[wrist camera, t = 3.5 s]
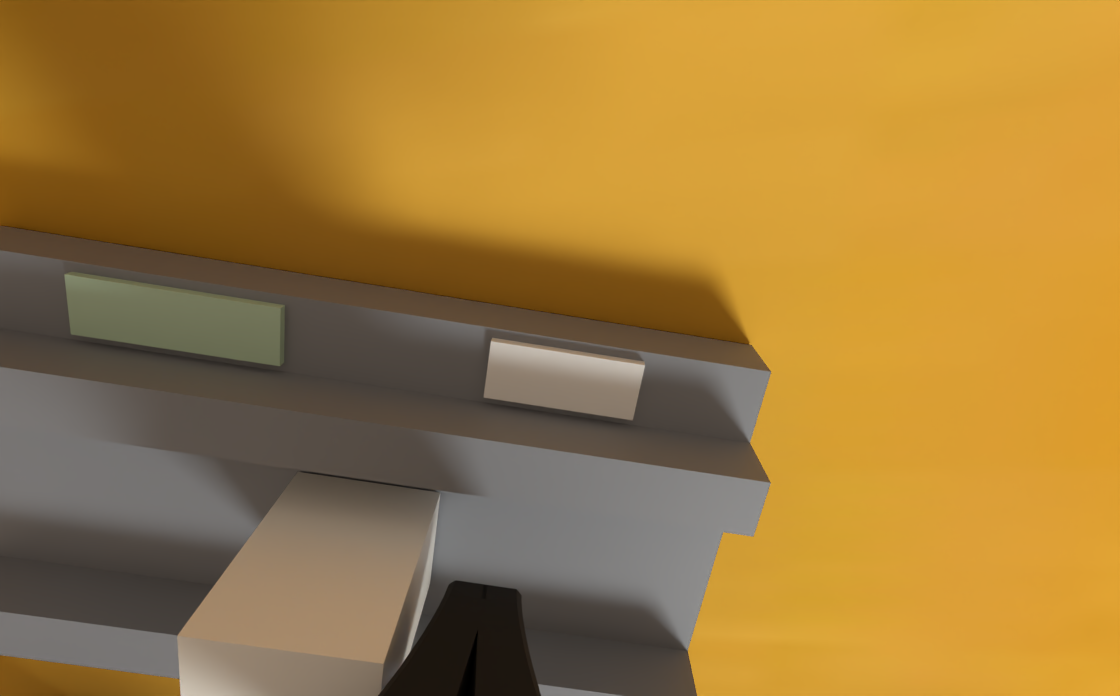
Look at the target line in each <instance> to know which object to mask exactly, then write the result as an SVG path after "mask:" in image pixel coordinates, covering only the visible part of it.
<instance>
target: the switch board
mask: <svg viewBox="0 0 1120 696" xmlns="http://www.w3.org/2000/svg"><path fill="white" fill-rule="evenodd" d="M770 374H771V371H770V370H769V368H768V367H767V366H766V364H765V363H764V362H763V360H762V359H761V357H760V356H759V355H758V353H757V352H756V351H755V349H754V348H753V347H752V345H747V344H741V343H735V342H728V341H722V340H716V339H710V338H703V337H697V336H691V335H685V334H678V333H672V332H666V331H659V330H653V329H647V328H641V327H634V326H628V325H622V324H615V323H609V322H603V321H597V320H590V319H584V318H578V317H571V316H565V315H559V314H553V313H546V312H540V311H534V310H528V309H521V308H515V307H509V306H502V305H496V304H490V303H484V302H477V301H471V300H465V299H458V298H452V297H446V296H440V295H433V294H427V293H421V292H415V291H408V290H402V289H396V288H389V287H383V286H377V285H371V284H364V283H358V282H352V281H345V280H339V279H333V278H327V277H320V276H314V275H308V274H301V273H295V272H289V271H283V270H276V269H270V268H264V267H258V266H251V265H245V264H239V263H232V262H226V261H220V260H214V259H207V258H201V257H195V256H188V255H182V254H176V253H170V252H163V251H157V250H151V249H145V248H138V247H132V246H126V245H119V244H113V243H107V242H101V241H94V240H88V239H82V238H75V237H69V236H63V235H57V234H50V233H44V232H38V231H32V230H25V229H19V228H13V227H6V226H0V655H4V656H11V657H19V658H26V659H34V660H41V661H49V662H57V663H64V664H72V665H79V666H87V667H94V668H102V669H109V670H117V671H125V672H132V673H140V674H147V675H155V676H162V677H170V678H177V679H180V676H179V659H178V642H177V635H178V634H179V633H180V631H181V630H182V629H183V627H184V626H185V625H186V623H187V622H188V620H189V619H190V618H191V616H192V615H193V614H194V612H195V611H196V610H197V608H198V607H199V606H200V604H201V603H202V601H203V600H204V599H205V597H206V596H207V595H208V593H209V592H210V591H211V589H212V588H213V586H214V585H215V584H216V582H217V581H218V580H219V578H220V577H221V576H222V574H223V573H224V572H225V570H226V569H227V567H228V566H229V565H230V563H231V562H232V561H233V559H234V558H235V557H236V555H237V554H238V553H239V551H240V550H241V548H242V547H243V546H244V544H245V543H246V542H247V540H248V539H249V538H250V536H251V535H252V533H253V532H254V531H255V529H256V528H257V527H258V525H259V524H260V523H261V521H262V520H263V519H264V517H265V516H266V514H267V513H268V512H269V510H270V509H271V508H272V506H273V505H274V504H275V502H276V501H277V499H278V498H279V497H280V495H281V494H282V493H283V491H284V490H285V489H286V487H287V486H288V485H289V483H290V482H291V480H292V479H293V478H294V476H295V475H296V474H297V472H303V473H310V474H317V475H323V476H330V477H337V478H344V479H351V480H357V481H364V482H371V483H378V484H385V485H392V486H398V487H405V488H412V489H419V490H426V491H433V492H439V493H440V501H439V509H438V518H437V527H436V536H435V545H434V553H433V562H432V571H431V580H430V585H429V589H428V592H427V596H426V599H425V602H424V606H423V609H422V613H421V616H420V620H419V623H418V626H417V630H416V633H415V637H414V640H413V644H412V647H411V650H412V649H413V647H414V646H415V644H416V643H417V641H418V640H419V638H420V637H421V635H422V634H423V632H424V631H425V629H426V627H427V626H428V624H429V622H430V621H431V619H432V617H433V616H434V614H435V612H436V610H437V608H438V607H439V605H440V603H441V601H442V599H443V597H444V595H445V592H446V590H447V587H448V585H449V584H450V583H452V582H453V581H455V580H457V581H464V582H471V583H478V584H485V585H492V586H499V587H506V588H513V589H517V590H518V591H519V593H520V594H521V595H522V599H521V600H522V614H523V621H524V627H525V633H526V638H527V643H528V648H529V652H530V657H531V661H532V665H533V668H534V672H535V676H536V679H537V683H538V686H539V690H540V694H541V696H697V694H696V689H695V684H694V679H693V675H692V670H691V665H690V661H689V656H688V647H689V644H690V641H691V637H692V634H693V631H694V627H695V624H696V621H697V617H698V614H699V611H700V607H701V604H702V600H703V597H704V594H705V590H706V587H707V584H708V580H709V577H710V574H711V570H712V567H713V564H714V560H715V557H716V554H717V550H718V547H719V544H720V540H721V537H722V534H723V532H726V533H733V534H740V535H747V536H754V533H755V530H756V527H757V524H758V521H759V517H760V514H761V511H762V508H763V505H764V502H765V499H766V496H767V493H768V489H769V486H770V481H769V479H768V477H767V475H766V473H765V471H764V469H763V467H762V465H761V463H760V461H759V460H758V458H757V456H756V454H755V452H754V450H753V448H752V446H751V444H750V440H751V437H752V434H753V430H754V427H755V424H756V420H757V417H758V414H759V410H760V407H761V404H762V400H763V397H764V394H765V390H766V387H767V384H768V380H769V377H770ZM411 650H410V652H411Z"/></svg>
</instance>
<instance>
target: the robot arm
mask: <svg viewBox="0 0 1120 696" xmlns="http://www.w3.org/2000/svg"><path fill="white" fill-rule="evenodd" d="M521 599H522V595H521V594H520V593H519V591H518V590H517V589H513V588H506V587H499V586H492V585H485V584H478V583H471V582H464V581H457V580H455V581H453V582H452V583H450V584H449V585H448V587H447V590H446V592H445V595H444V597H443V599H442V601H441V603H440V605H439V607H438V608H437V610H436V612H435V614H434V616H433V617H432V619H431V621H430V622H429V624H428V626H427V627H426V629H425V631H424V632H423V634H422V635H421V637H420V638H419V640H418V641H417V643H416V644H415V646H414V647H413V649H412V650H411V652H410V653H409V655H408V656H407V657H406V659H405V660H404V662H403V663H402V665H401V666H400V668H399V669H398V670H397V672H396V673H395V674H394V676H393V677H392V678H391V679H390V681H389V682H388V683H387V685H386V686H385V687H384V689H383V690H382V691H381V692H380V694H379V695H378V696H541V694H540V690H539V686H538V683H537V679H536V676H535V672H534V668H533V665H532V661H531V657H530V652H529V648H528V643H527V638H526V633H525V627H524V621H523V614H522V600H521Z"/></svg>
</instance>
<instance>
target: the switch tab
mask: <svg viewBox="0 0 1120 696" xmlns="http://www.w3.org/2000/svg"><path fill="white" fill-rule="evenodd" d="M439 501H440V493H439V492H433V491H426V490H419V489H412V488H405V487H398V486H392V485H385V484H378V483H371V482H364V481H357V480H351V479H344V478H337V477H330V476H323V475H317V474H310V473H303V472H297V474H296V475H295V476H294V478H293V479H292V480H291V482H290V483H289V485H288V486H287V487H286V489H285V490H284V491H283V493H282V494H281V495H280V497H279V498H278V499H277V501H276V502H275V504H274V505H273V506H272V508H271V509H270V510H269V512H268V513H267V514H266V516H265V517H264V519H263V520H262V521H261V523H260V524H259V525H258V527H257V528H256V529H255V531H254V532H253V533H252V535H251V536H250V538H249V539H248V540H247V542H246V543H245V544H244V546H243V547H242V548H241V550H240V551H239V553H238V554H237V555H236V557H235V558H234V559H233V561H232V562H231V563H230V565H229V566H228V567H227V569H226V570H225V572H224V573H223V574H222V576H221V577H220V578H219V580H218V581H217V582H216V584H215V585H214V586H213V588H212V589H211V591H210V592H209V593H208V595H207V596H206V597H205V599H204V600H203V601H202V603H201V604H200V606H199V607H198V608H197V610H196V611H195V612H194V614H193V615H192V616H191V618H190V619H189V620H188V622H187V623H186V625H185V626H184V627H183V629H182V630H181V631H180V633H179V634H178V635H177V642H178V659H179V676H180V693H181V696H378V695H379V694H380V692H381V691H382V690H383V689H384V687H385V686H386V685H387V683H388V682H389V681H390V679H391V678H392V677H393V676H394V674H395V673H396V672H397V670H398V669H399V668H400V666H401V665H402V663H403V662H404V660H405V659H406V657H407V656H408V655H409V653H410V650H411V647H412V644H413V640H414V637H415V633H416V630H417V626H418V623H419V620H420V616H421V613H422V609H423V606H424V602H425V599H426V596H427V592H428V589H429V585H430V580H431V571H432V562H433V553H434V545H435V536H436V527H437V518H438V509H439Z"/></svg>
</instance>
